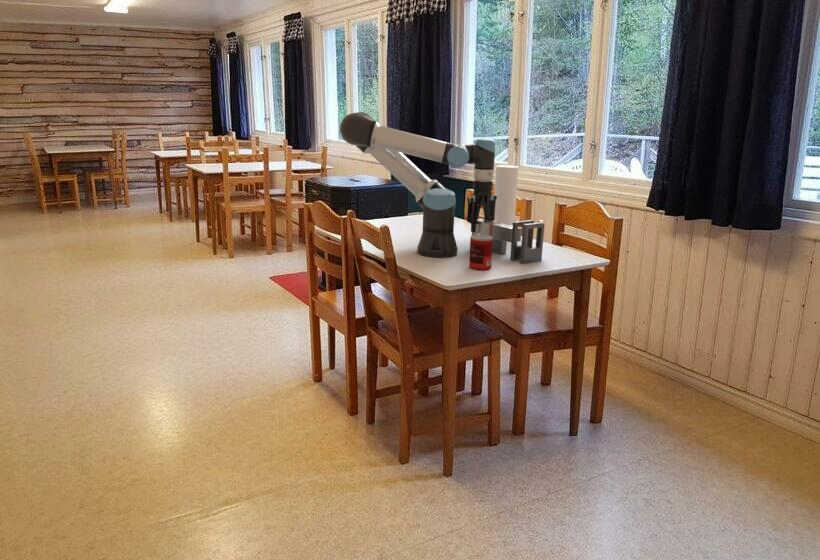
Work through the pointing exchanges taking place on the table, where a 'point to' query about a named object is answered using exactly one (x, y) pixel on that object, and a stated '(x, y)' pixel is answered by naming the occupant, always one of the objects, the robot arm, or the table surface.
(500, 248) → the stand
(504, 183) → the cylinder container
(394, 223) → the table surface
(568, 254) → the table surface
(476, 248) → the canned food
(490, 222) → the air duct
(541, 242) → the collar stand
